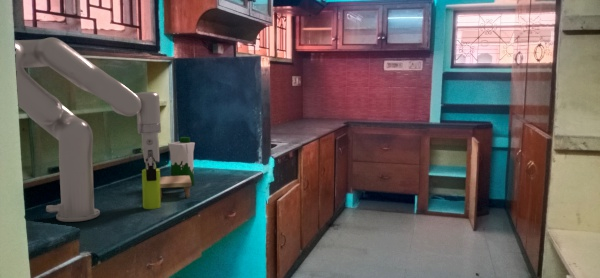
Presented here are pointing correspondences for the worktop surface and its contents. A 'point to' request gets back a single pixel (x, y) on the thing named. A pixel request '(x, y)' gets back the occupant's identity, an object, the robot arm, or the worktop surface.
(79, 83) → the robot arm
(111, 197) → the worktop surface
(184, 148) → the milk carton
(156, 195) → the soap dispenser
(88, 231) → the worktop surface
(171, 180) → the stool
